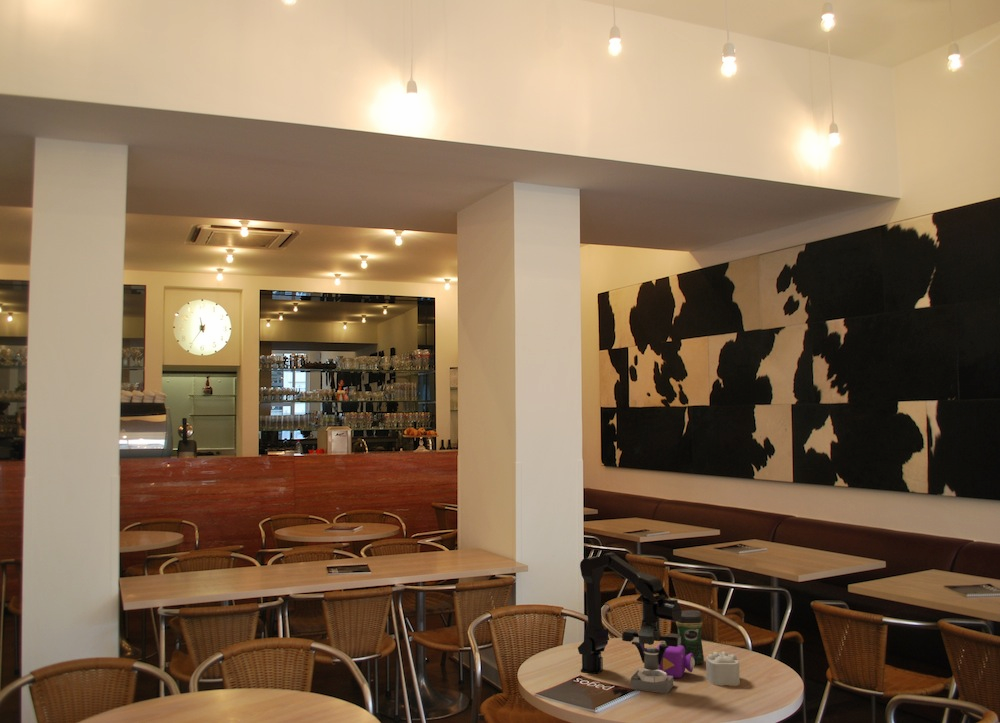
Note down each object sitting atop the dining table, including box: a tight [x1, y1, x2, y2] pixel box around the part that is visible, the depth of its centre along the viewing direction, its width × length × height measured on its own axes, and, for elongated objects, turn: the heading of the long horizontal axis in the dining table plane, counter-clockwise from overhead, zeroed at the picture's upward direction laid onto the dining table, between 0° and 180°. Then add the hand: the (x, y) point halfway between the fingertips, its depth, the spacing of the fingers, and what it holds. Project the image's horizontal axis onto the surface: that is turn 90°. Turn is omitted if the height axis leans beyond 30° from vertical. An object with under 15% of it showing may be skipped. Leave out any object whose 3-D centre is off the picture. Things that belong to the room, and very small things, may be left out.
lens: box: [643, 646, 660, 670], centre depth 277 cm, size 5×5×6 cm
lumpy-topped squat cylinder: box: [705, 650, 741, 687], centre depth 284 cm, size 10×13×9 cm
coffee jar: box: [675, 609, 705, 665], centre depth 304 cm, size 10×8×19 cm
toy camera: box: [656, 643, 696, 679], centre depth 290 cm, size 11×14×10 cm
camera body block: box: [630, 668, 674, 695], centre depth 276 cm, size 12×9×4 cm
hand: (651, 663), depth 277 cm, fingers closed on lens, 5 cm apart
